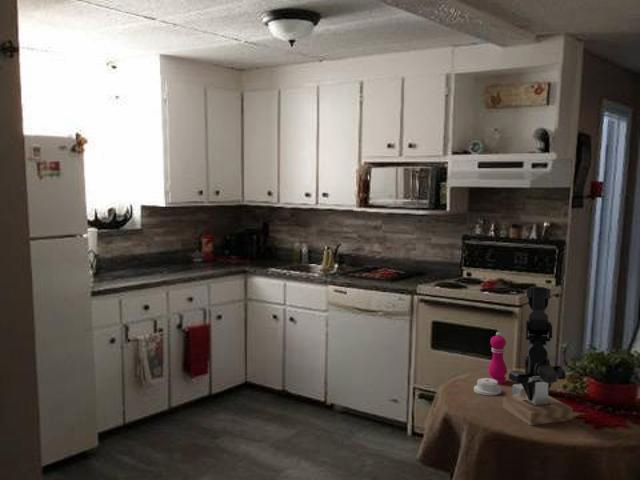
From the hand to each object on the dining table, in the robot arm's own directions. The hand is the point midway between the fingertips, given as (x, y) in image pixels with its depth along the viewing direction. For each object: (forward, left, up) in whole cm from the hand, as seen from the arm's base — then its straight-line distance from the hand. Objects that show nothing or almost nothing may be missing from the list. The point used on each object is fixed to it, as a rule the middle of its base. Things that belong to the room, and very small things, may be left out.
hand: (536, 399), depth 205 cm
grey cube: (-4, -14, -5) cm, 15 cm away
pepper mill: (-7, -35, -5) cm, 36 cm away
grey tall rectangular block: (0, 0, -3) cm, 3 cm away
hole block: (0, 0, -5) cm, 5 cm away
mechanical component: (+3, -26, -6) cm, 26 cm away
